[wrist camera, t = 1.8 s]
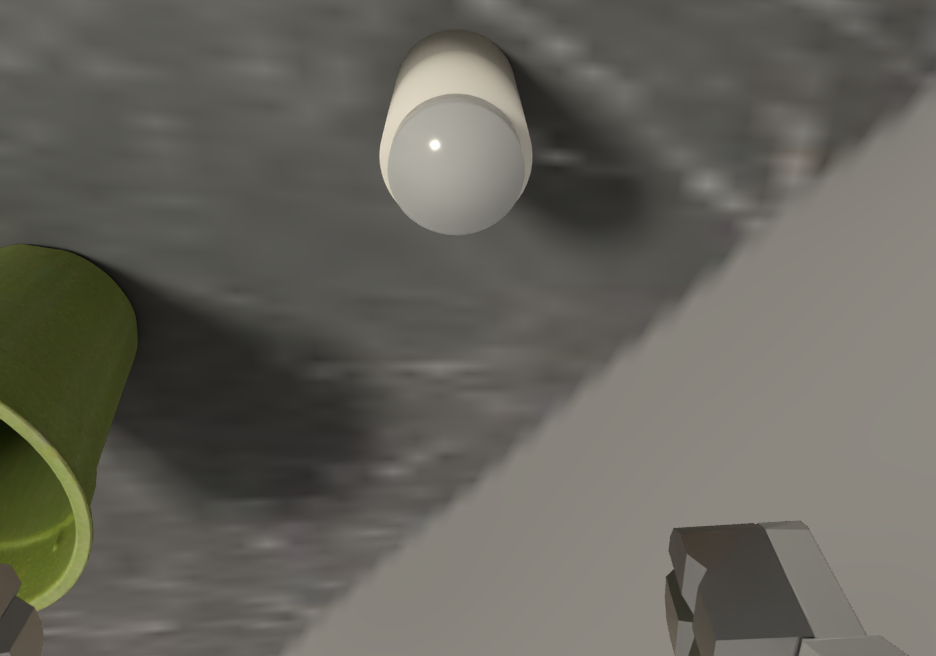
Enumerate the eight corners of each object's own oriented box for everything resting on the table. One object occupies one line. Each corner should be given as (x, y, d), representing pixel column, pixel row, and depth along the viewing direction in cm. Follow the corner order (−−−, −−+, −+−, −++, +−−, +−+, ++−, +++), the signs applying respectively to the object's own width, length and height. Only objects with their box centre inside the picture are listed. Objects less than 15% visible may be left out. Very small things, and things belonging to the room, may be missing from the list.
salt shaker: (388, 34, 27) (365, 99, 20) (513, 24, 26) (533, 85, 20) (403, 155, 29) (387, 249, 22) (518, 146, 29) (537, 238, 22)
